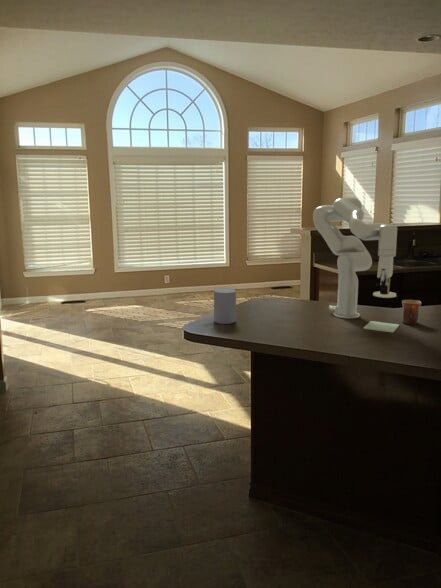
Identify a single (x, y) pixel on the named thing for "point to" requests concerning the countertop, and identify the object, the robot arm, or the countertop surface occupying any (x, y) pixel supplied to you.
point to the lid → (388, 295)
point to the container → (224, 306)
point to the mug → (410, 311)
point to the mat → (381, 326)
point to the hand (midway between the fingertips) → (384, 292)
